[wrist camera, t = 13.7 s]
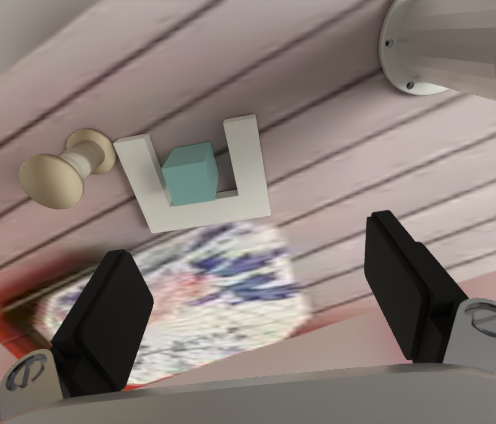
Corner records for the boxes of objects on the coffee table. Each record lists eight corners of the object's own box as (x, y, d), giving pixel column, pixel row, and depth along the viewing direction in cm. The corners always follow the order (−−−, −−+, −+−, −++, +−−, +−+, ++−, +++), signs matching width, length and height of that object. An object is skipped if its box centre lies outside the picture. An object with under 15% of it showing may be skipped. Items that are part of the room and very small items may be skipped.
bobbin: (105, 124, 36) (62, 152, 28) (123, 168, 39) (90, 204, 31) (60, 132, 37) (5, 162, 28) (82, 175, 40) (39, 213, 31)
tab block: (210, 141, 38) (204, 161, 32) (219, 176, 40) (214, 200, 34) (174, 147, 38) (161, 168, 32) (184, 181, 41) (174, 206, 35)
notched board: (255, 113, 36) (256, 117, 34) (270, 208, 43) (271, 215, 41) (118, 138, 37) (112, 143, 36) (155, 226, 44) (151, 233, 43)
